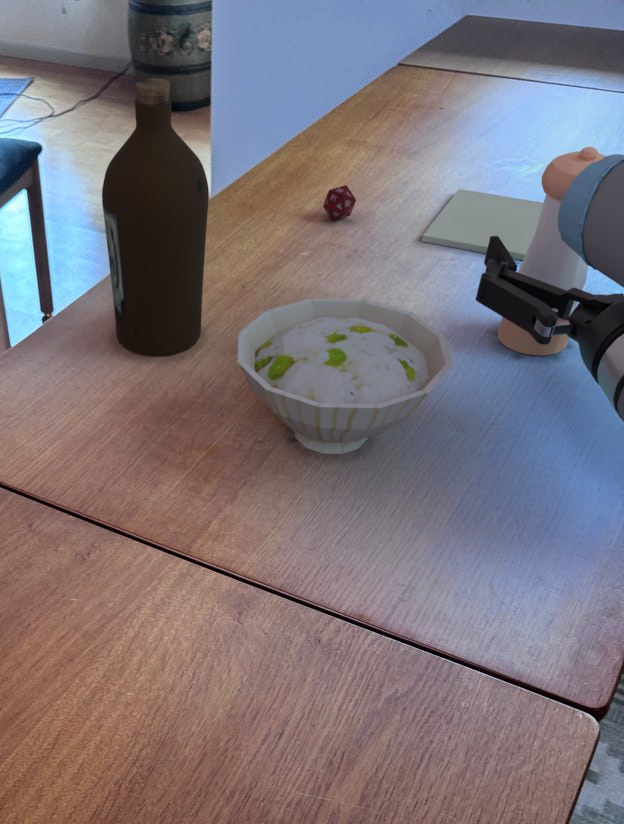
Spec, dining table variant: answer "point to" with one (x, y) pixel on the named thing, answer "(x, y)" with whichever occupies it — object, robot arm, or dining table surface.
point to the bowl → (341, 368)
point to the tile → (485, 222)
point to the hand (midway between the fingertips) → (558, 246)
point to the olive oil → (156, 230)
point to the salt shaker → (551, 251)
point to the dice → (339, 203)
